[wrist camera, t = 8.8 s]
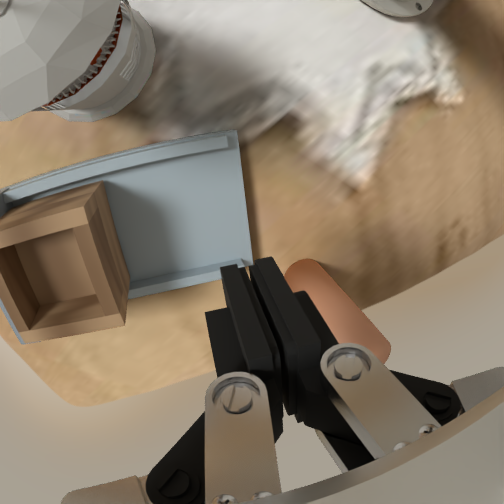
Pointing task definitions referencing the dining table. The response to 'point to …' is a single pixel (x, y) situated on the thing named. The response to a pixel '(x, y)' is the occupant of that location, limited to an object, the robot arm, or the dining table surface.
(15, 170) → the dining table surface
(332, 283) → the dowel
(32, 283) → the square wooden box
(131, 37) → the french press
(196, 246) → the rail
